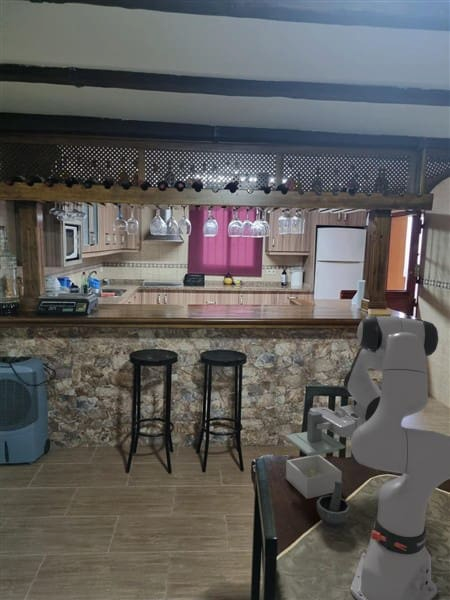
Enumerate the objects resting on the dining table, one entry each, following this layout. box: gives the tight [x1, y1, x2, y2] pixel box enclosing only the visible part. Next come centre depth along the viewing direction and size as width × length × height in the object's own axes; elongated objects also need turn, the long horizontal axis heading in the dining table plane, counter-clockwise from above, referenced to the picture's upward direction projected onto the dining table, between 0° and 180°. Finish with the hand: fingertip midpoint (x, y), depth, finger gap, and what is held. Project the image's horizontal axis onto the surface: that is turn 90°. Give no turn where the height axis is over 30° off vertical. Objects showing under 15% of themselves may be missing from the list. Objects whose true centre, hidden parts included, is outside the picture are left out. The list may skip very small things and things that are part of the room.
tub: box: [285, 454, 343, 500], centre depth 151 cm, size 14×14×7 cm
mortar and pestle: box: [316, 481, 351, 533], centre depth 128 cm, size 11×9×12 cm
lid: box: [284, 411, 346, 457], centre depth 149 cm, size 15×15×12 cm
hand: (312, 423), depth 149 cm, fingers closed on lid, 3 cm apart
